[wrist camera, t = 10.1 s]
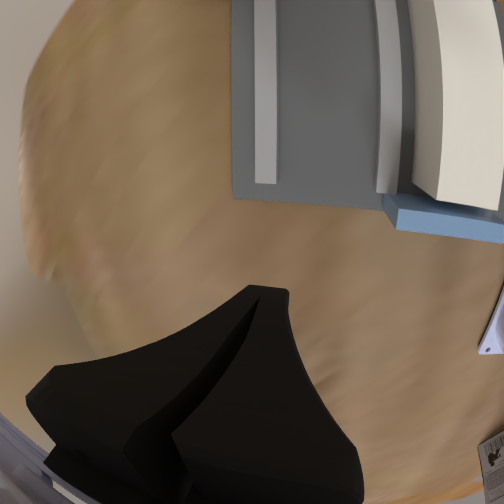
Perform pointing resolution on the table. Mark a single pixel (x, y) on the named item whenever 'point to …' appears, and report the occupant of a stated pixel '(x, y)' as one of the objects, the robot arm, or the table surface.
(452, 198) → the cream rectangular block
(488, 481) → the coffee box
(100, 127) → the table surface
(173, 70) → the table surface
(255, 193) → the board
